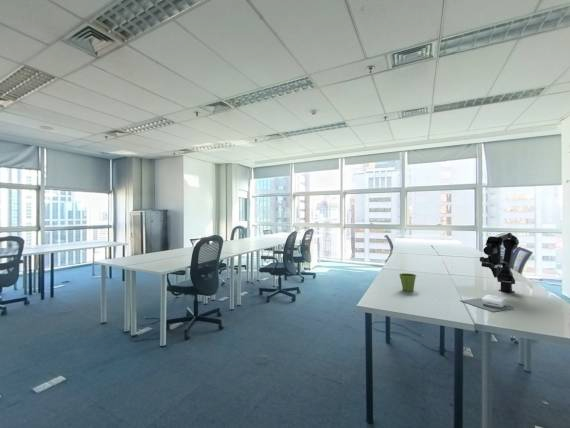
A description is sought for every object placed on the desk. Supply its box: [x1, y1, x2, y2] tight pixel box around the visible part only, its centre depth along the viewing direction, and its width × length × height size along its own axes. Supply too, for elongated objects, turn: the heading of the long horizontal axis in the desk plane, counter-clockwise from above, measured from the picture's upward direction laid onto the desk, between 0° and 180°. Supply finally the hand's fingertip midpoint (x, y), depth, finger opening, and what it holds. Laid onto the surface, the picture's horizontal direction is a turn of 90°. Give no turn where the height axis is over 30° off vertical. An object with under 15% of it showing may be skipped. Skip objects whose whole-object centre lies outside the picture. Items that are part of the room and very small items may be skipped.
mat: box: [460, 297, 515, 313], centre depth 158 cm, size 16×20×1 cm
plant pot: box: [398, 272, 417, 292], centre depth 191 cm, size 12×12×11 cm
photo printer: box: [481, 294, 508, 308], centre depth 156 cm, size 10×4×12 cm
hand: (495, 277), depth 176 cm, fingers closed
